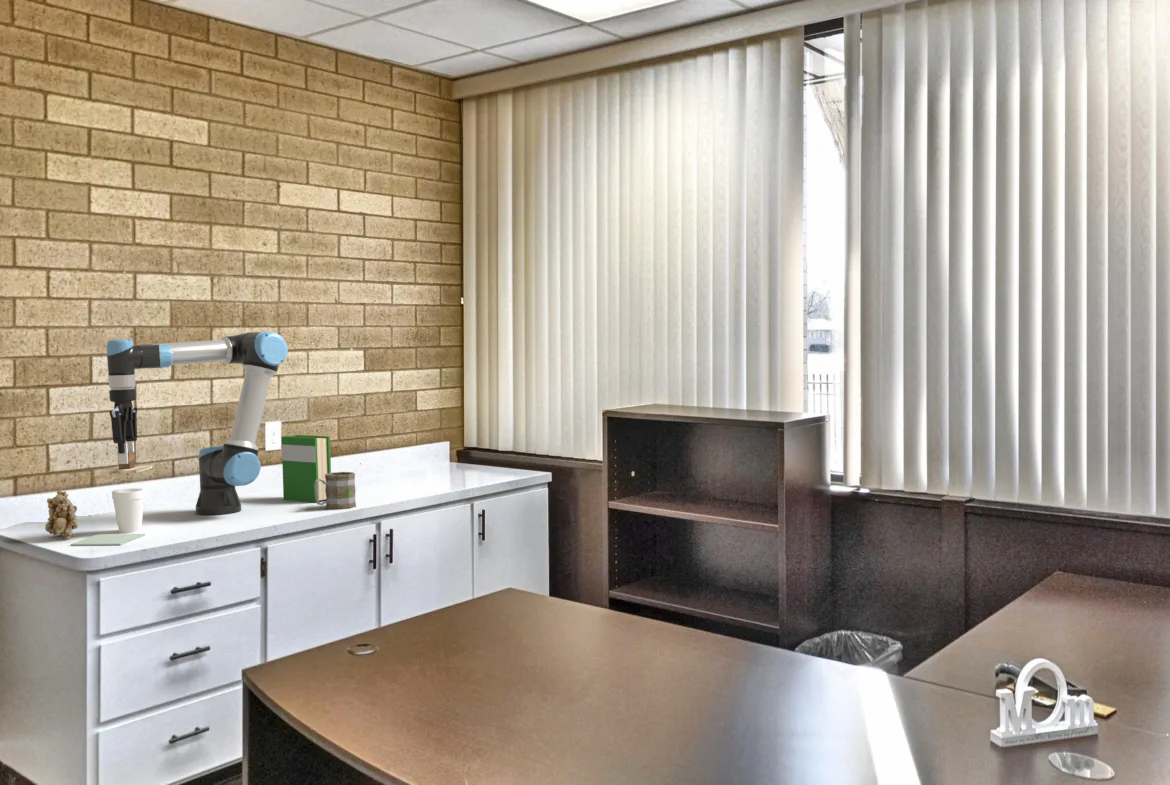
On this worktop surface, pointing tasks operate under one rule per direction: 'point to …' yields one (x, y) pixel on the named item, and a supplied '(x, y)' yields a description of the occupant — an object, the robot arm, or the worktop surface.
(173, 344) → the robot arm
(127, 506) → the foam cup
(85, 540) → the mat
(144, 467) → the lid
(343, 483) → the mug
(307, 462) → the hardback book
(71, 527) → the mineral formation
